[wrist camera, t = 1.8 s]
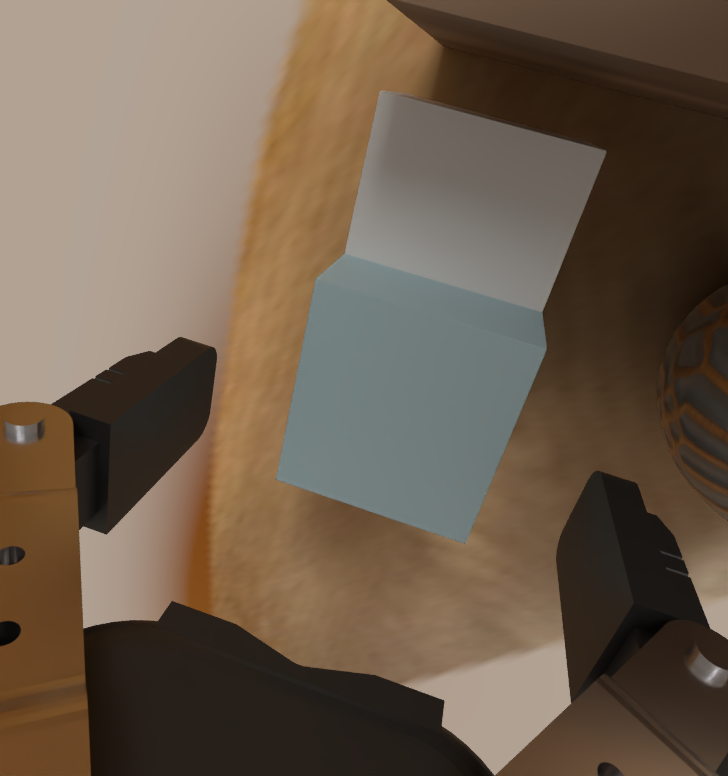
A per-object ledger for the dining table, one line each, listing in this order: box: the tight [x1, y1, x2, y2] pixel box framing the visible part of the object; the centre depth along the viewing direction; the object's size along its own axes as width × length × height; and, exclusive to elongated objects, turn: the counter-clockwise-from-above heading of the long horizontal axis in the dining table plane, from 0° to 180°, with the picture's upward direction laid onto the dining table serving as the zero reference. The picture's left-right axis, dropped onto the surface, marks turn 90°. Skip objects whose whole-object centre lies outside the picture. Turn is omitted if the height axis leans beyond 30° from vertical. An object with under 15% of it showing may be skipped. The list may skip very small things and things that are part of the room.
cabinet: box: [276, 90, 607, 544], centre depth 15 cm, size 9×5×8 cm, turn 165°
